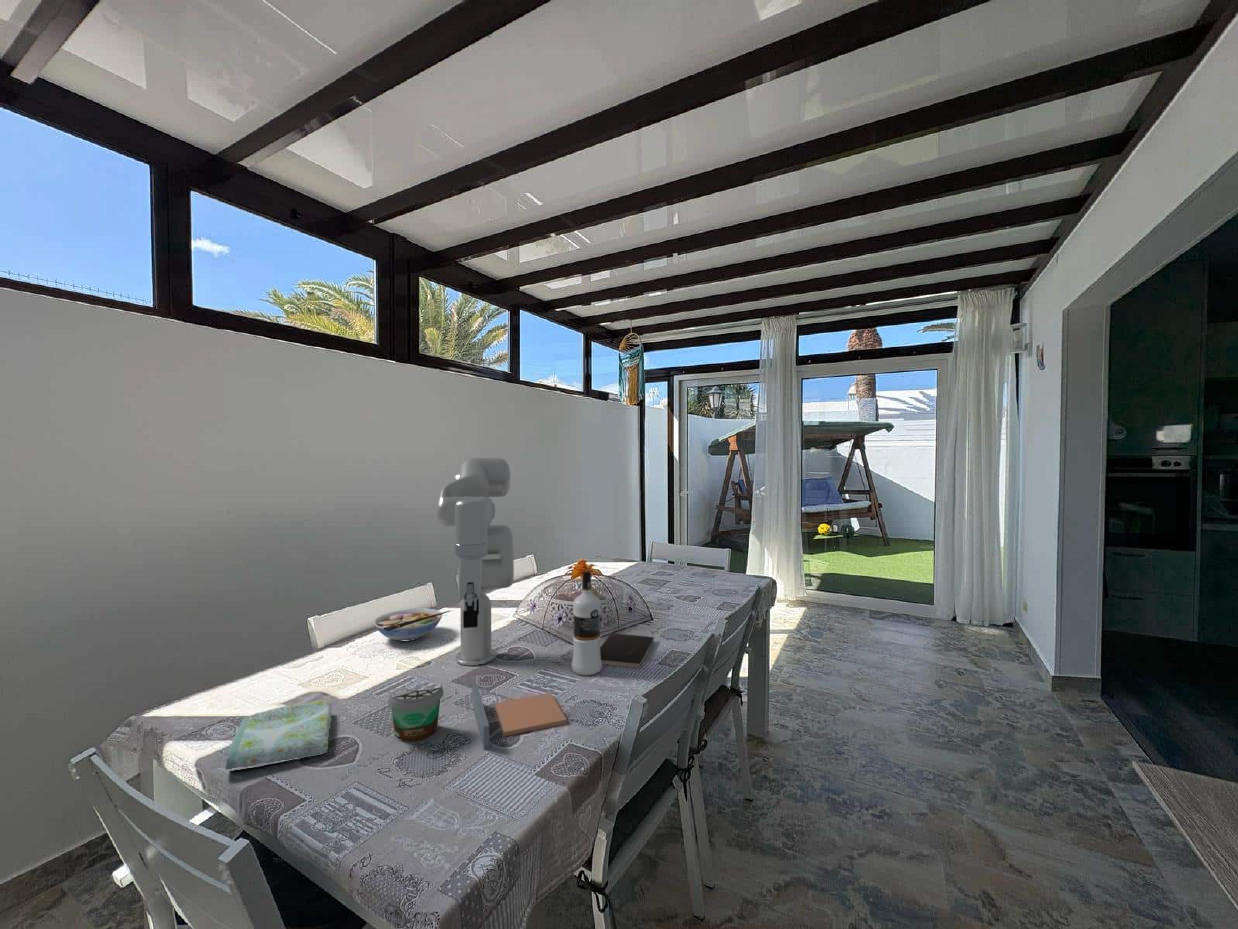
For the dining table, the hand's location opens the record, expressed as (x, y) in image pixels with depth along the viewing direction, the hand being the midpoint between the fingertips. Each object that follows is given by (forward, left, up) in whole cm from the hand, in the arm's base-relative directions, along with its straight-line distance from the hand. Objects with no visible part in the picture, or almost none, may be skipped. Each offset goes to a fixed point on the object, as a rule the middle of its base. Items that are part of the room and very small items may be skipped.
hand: (471, 620), depth 123 cm
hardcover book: (-27, +52, -26) cm, 64 cm away
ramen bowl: (-68, -14, -25) cm, 74 cm away
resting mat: (+2, +14, -25) cm, 29 cm away
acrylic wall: (+2, +2, -25) cm, 25 cm away
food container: (+2, -12, -25) cm, 28 cm away
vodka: (-18, +36, -25) cm, 47 cm away
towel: (-7, -40, -26) cm, 48 cm away
